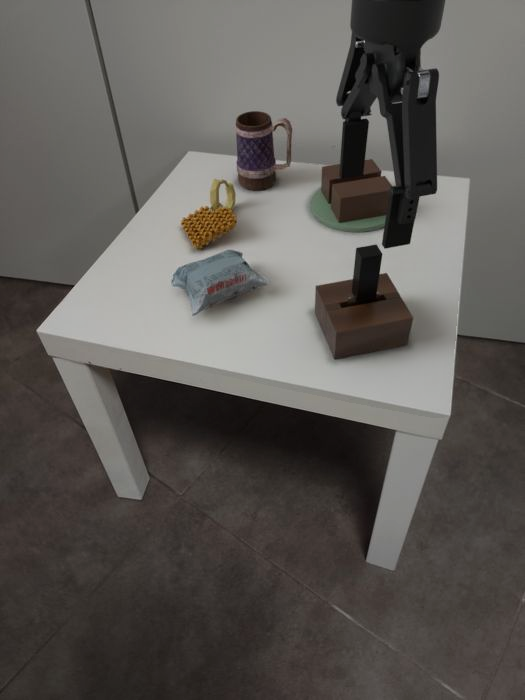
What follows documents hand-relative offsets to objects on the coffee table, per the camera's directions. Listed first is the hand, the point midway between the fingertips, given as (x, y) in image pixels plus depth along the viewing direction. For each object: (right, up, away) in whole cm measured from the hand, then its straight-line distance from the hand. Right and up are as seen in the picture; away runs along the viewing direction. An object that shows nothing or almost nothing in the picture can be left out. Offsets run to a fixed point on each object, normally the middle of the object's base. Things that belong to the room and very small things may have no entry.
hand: (371, 207), depth 59 cm
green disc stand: (+4, +9, +34) cm, 35 cm away
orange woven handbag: (-20, +5, +32) cm, 38 cm away
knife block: (+1, -13, +14) cm, 19 cm away
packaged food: (-18, -7, +20) cm, 28 cm away
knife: (+1, -13, +14) cm, 19 cm away
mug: (-11, +15, +40) cm, 45 cm away
